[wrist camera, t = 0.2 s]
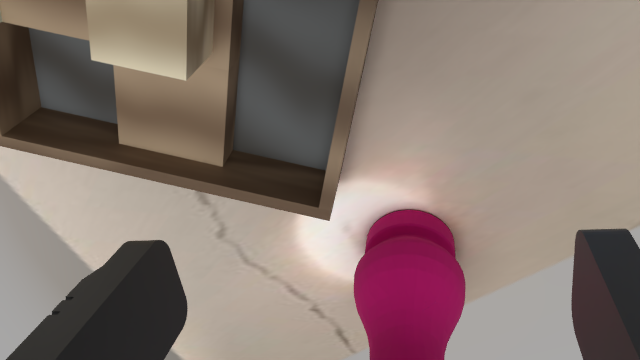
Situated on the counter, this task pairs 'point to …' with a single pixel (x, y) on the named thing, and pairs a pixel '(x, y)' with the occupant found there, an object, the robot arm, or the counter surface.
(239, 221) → the counter surface
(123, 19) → the maple block
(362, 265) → the pepper mill
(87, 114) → the tray
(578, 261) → the robot arm
